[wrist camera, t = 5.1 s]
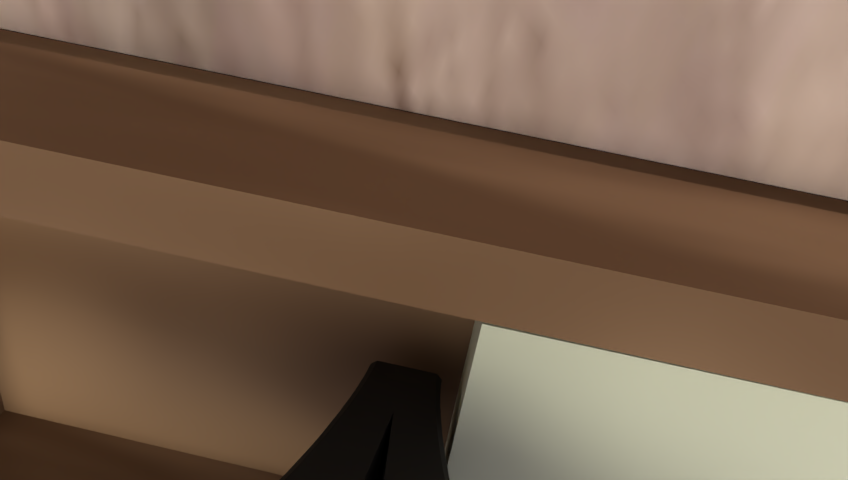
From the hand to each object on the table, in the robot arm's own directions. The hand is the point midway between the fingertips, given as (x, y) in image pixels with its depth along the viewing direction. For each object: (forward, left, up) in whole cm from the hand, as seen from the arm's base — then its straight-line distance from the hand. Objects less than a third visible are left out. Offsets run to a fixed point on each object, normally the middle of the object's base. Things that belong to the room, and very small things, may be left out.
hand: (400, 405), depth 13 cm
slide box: (0, +1, -1) cm, 2 cm away
